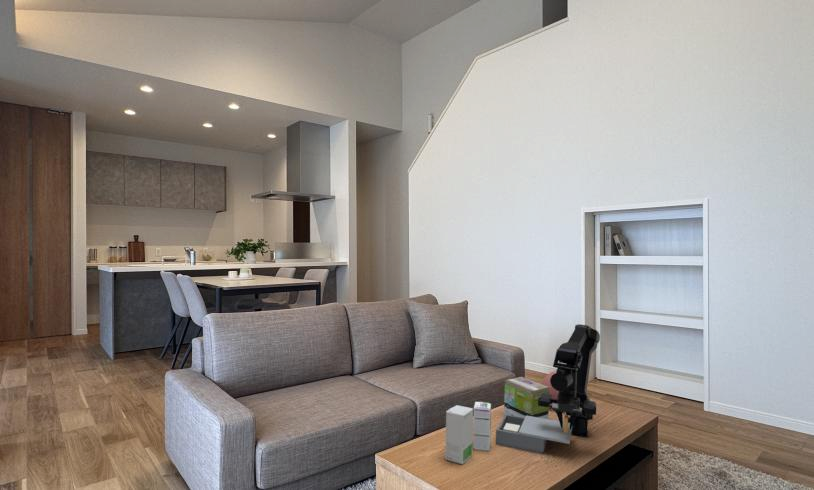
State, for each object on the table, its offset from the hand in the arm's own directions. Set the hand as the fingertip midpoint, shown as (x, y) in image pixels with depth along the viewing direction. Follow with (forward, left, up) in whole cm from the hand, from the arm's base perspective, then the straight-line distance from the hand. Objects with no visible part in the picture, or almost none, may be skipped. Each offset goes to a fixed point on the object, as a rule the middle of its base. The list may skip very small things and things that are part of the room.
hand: (566, 428), depth 157 cm
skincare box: (+31, +23, -7) cm, 40 cm away
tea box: (+16, -20, -7) cm, 27 cm away
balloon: (+3, -39, -7) cm, 40 cm away
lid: (+6, 0, -2) cm, 7 cm away
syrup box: (+26, +12, -7) cm, 30 cm away
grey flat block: (+14, 0, -7) cm, 16 cm away
